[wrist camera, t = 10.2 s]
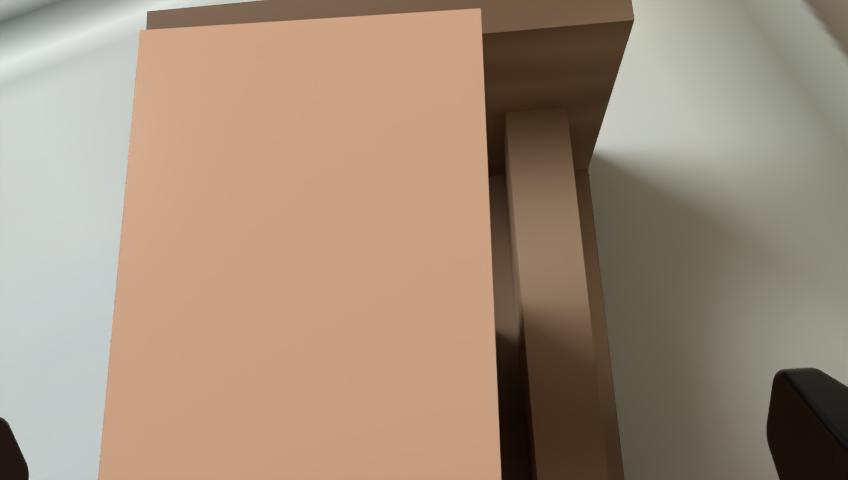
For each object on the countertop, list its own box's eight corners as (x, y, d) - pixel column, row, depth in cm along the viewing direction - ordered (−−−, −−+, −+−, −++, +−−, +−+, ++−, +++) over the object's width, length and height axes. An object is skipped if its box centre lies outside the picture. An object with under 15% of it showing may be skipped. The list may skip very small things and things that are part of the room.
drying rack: (652, 782, 16) (780, 1042, 9) (266, 792, 16) (89, 1043, 9) (578, 146, 20) (626, -35, 13) (269, 171, 20) (147, 11, 13)
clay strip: (500, 566, 16) (517, 878, 4) (386, 567, 17) (61, 869, 4) (490, 329, 18) (481, 8, 5) (385, 332, 18) (140, 30, 6)
